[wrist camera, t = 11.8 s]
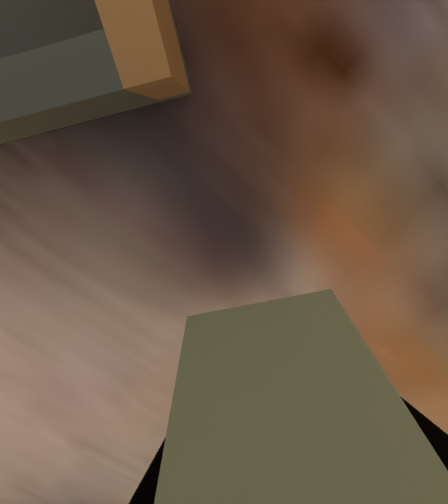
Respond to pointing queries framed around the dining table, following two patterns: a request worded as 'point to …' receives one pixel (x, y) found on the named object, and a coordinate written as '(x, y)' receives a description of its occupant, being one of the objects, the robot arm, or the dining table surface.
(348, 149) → the dining table surface
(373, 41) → the dining table surface
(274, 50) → the dining table surface
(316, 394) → the sage block
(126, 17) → the low planter box
